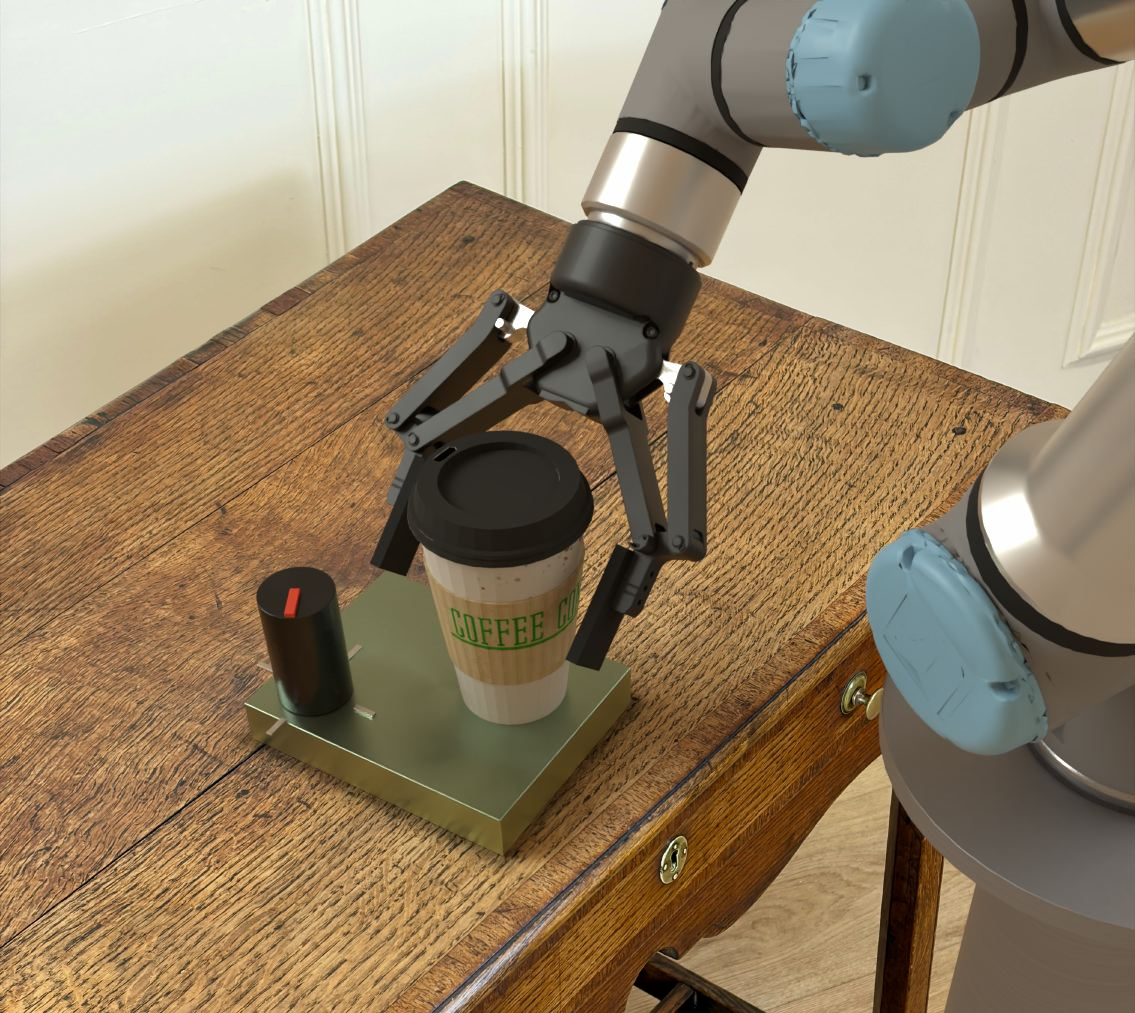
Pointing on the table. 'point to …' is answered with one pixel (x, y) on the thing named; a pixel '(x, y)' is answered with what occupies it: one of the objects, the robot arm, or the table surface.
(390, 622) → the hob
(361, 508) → the table surface
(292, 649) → the knob
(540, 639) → the coffee cup
